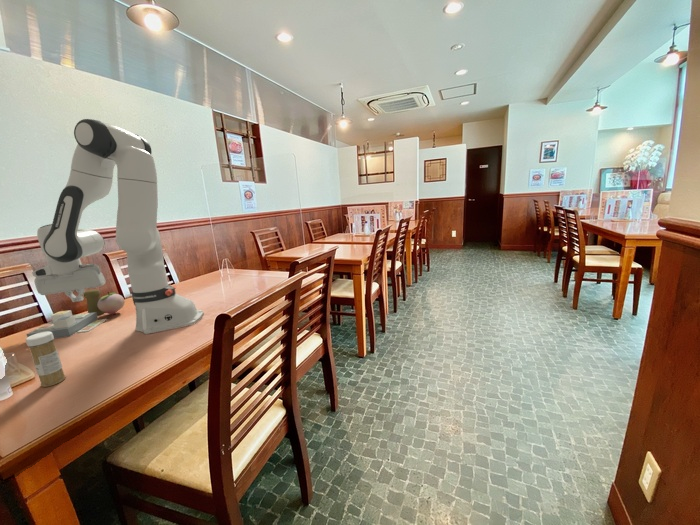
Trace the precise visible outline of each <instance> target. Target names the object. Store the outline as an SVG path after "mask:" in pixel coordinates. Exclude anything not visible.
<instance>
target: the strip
mask: <svg viewBox="0 0 700 525" xmlns="http://www.w3.org/2000/svg"><path fill="white" fill-rule="evenodd" d="M105 320H106V321H107V320H108V319H107V318H102V319H97V320H96V321H94V322H92V323H91V324H89V325H88V326H86V327H84V328H83V329H81V330H80V331H78V332H76V334H80V333H88V332H90V331H92V330H94V329H95V328H97V327H98V326H100V325H101V324H103V323H104V322H105Z"/></svg>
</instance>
